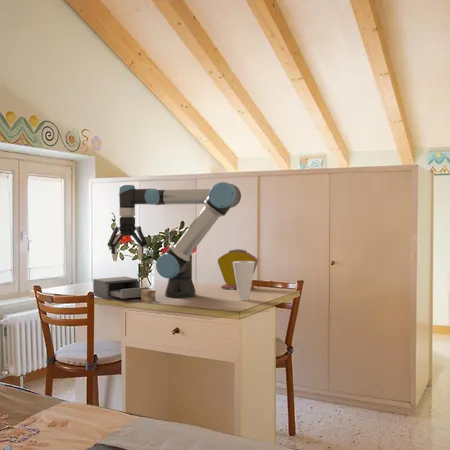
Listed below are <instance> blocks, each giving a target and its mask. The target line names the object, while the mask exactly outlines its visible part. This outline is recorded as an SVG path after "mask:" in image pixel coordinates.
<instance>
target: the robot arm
mask: <svg viewBox="0 0 450 450" xmlns="http://www.w3.org/2000/svg"><path fill="white" fill-rule="evenodd" d="M118 193H119V194H118V196H119V199H118V200H119V216H120V217H119V226H114V227H113V230H112V234H111V236H110V237H109V240H108V243H107V247H110V249H111V250H110V251H111V252H110V253H111V255H112V261H113V262H117V261H118V247H116V246H117V245H118V244H119V243H120V241H121V240H122V238H124V236H125V237H126V236H128V237H129V236H130V237H131V236H132V238H133V239H134V240H135V241H136V242H137V244H138V246H137V253H138V255H137V259H138V260H143V253H144V251H145V250H144V247H146V245H148V242H147V239H146V238H145V236H144V233H143V231H142V226H141V225H139V226H136V217H135V216H136V205H154V206H162V205H170V206H171V205H204V206H203V208H202V209H201V211H200V212H199V213H198V215H197V216H195V218H194V220H193V221H192V222H191V224H190V225H189V226H188V228H186V230H185V231H184V233H182V236H181V237H180V238H179V239H178V240H177V242H176V243H175V244H172V245H170V246H169V247H168V248H167V250H166V251H165V252H164V253H162V254H160V256H158V258H157V259H156V262H155V269H156V271H157V273H158V274H159V275H160V277H162V278H165V279H169V281H168V280H167V284H166V285H167V286H166V287H165V288H166V289H165V293H164V294H165V295H164V296H165V297H168V298H189V297H190V298H191V297H195V296H196V295H197V294H196V288H195V286H194V282H193V254H192V253H193V252H194V251H195V249H196V248H197V247H198V245H199V244H200V243H201V242H202V241H203V239H204V238H205V236H206V235H207V234H208V232H209V231H210V230H211V228H213V226H214V225H215V223H216V222H217V221H218V219H219V218H221V217H225V216H226V214H227V213H228V212H229V211H230V209H232V208H235V207H236V206H237V205H238V204H239V203H240V202H241V200H242V193H241V190H240V188H239V187H237V186H236V185H235V184H233V183H229V182H224V181H221V182H218V183H215V184H214V185H213V186H211V188H190V189H189V188H188V189H187V188H186V189H182V188H181V189H179V188H178V189H157V188H152V187H151V188H136V186H135V185H134V184H121V185H120V186H119V192H118ZM135 231H136V232H137V233H136V232H135ZM118 232H119V233H118ZM137 234H138V235H137Z"/></svg>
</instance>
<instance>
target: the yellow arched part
mask: <svg viewBox="0 0 450 450" xmlns="http://www.w3.org/2000/svg"><path fill="white" fill-rule="evenodd" d="M235 261H253V262H255V265H254V271H253V275H254V274H255V271H256V268H257V265H258V258H257V257H256V256H254V255H253V254H251V253H249V252H247V250H246V249H240V248H235V249H231V250H228V252H225V254H224V253H223V255H221V256H220V257H219V258H217V264H218V267H219V270H220V272H221V275H222V278H223V280H224V283H225V284H223V285H221V286H220V289H221V288H234V289H233V290H237V285H236V280H235V274H234V268H233V262H235ZM254 288H255V285H254V284H251V290H252V289H254Z"/></svg>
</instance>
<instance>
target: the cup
mask: <svg viewBox="0 0 450 450" xmlns="http://www.w3.org/2000/svg"><path fill="white" fill-rule="evenodd" d="M254 265H255V262H253V261H235V262H233V268H234V274H235V280H236V285H237V289H236V291H237V296H238V297H237V298H238V300H239V299H241V300H247V299H249V300H250V295H251V290H252V289H251V285H253V284H252V283H253V277H254V274H253V271H254ZM254 272H255V271H254ZM241 300H240V301H241ZM247 301H248V300H247Z"/></svg>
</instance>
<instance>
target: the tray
mask: <svg viewBox="0 0 450 450" xmlns="http://www.w3.org/2000/svg"><path fill="white" fill-rule="evenodd" d="M147 289H150V287H149V286H145V287H140V288H132V289H121V293H120V290H114V291H109V295H111V296H115V297H116V298H119V299H122V300H123V299H132V298H141V290H147Z"/></svg>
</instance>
